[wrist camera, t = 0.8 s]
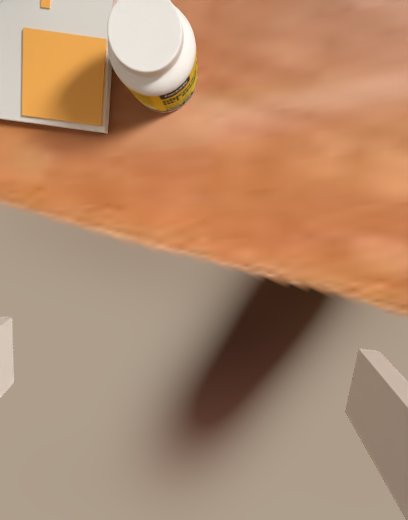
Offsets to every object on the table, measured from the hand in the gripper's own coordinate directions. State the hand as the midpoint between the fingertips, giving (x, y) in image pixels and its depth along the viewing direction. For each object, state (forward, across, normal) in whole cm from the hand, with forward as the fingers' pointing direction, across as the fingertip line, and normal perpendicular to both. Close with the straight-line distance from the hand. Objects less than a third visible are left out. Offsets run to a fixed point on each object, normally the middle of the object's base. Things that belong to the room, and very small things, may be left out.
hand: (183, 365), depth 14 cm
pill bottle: (+24, -4, +15) cm, 28 cm away
